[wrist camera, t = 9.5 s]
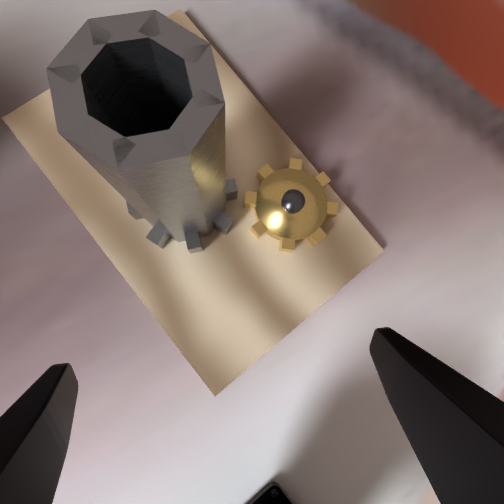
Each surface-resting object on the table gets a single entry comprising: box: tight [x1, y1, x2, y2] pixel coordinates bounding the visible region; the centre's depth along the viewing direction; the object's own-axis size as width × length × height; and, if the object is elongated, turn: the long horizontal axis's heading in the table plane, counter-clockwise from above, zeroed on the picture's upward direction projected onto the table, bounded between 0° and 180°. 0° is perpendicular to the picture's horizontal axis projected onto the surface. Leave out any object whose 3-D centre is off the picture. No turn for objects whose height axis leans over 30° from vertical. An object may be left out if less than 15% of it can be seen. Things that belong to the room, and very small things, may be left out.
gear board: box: [2, 9, 384, 396], centre depth 24 cm, size 16×25×1 cm, turn 39°
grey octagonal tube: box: [47, 10, 238, 254], centre depth 17 cm, size 7×7×13 cm
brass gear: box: [244, 158, 339, 252], centre depth 23 cm, size 7×7×2 cm
